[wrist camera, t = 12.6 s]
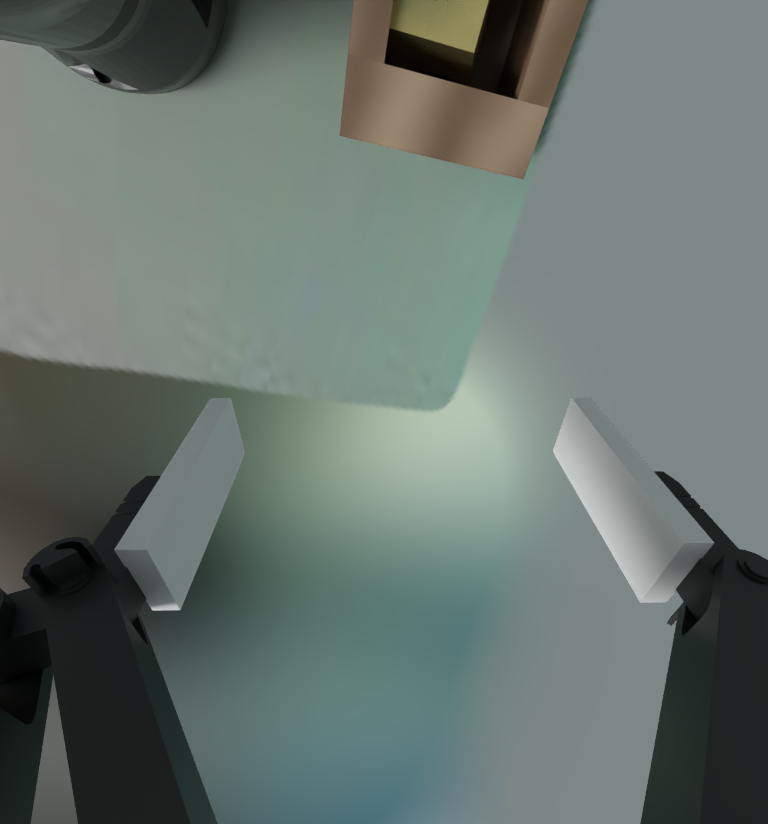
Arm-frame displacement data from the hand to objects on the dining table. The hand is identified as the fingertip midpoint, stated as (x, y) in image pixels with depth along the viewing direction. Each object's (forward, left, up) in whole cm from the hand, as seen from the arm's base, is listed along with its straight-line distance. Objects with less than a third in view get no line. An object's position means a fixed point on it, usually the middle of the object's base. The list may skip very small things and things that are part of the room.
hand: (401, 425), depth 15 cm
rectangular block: (-10, +10, -27) cm, 30 cm away
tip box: (-10, +10, -28) cm, 31 cm away
